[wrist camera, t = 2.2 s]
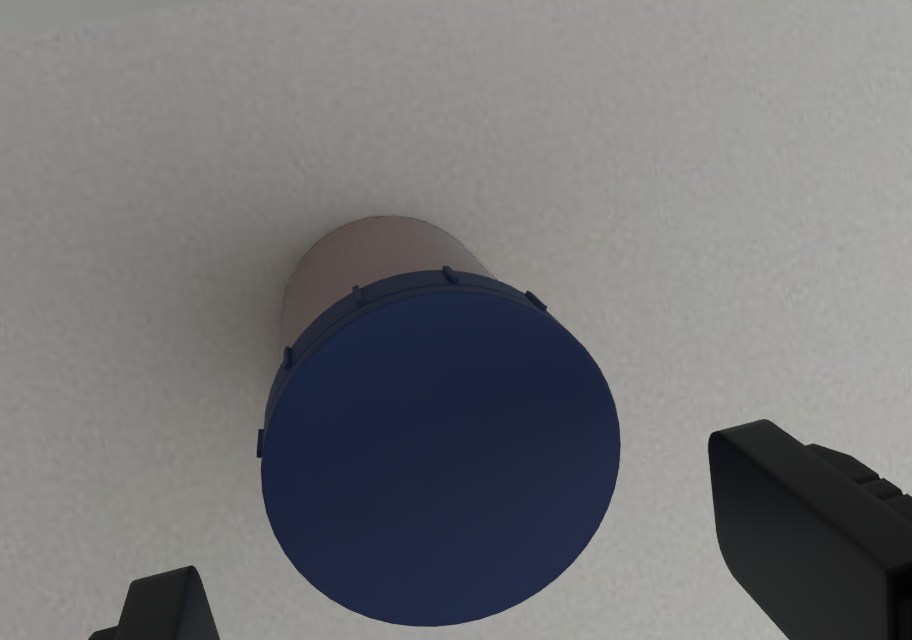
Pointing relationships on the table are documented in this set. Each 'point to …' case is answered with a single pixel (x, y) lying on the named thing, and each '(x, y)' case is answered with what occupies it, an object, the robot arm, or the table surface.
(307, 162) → the table surface
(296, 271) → the jar
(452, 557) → the lid
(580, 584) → the table surface
